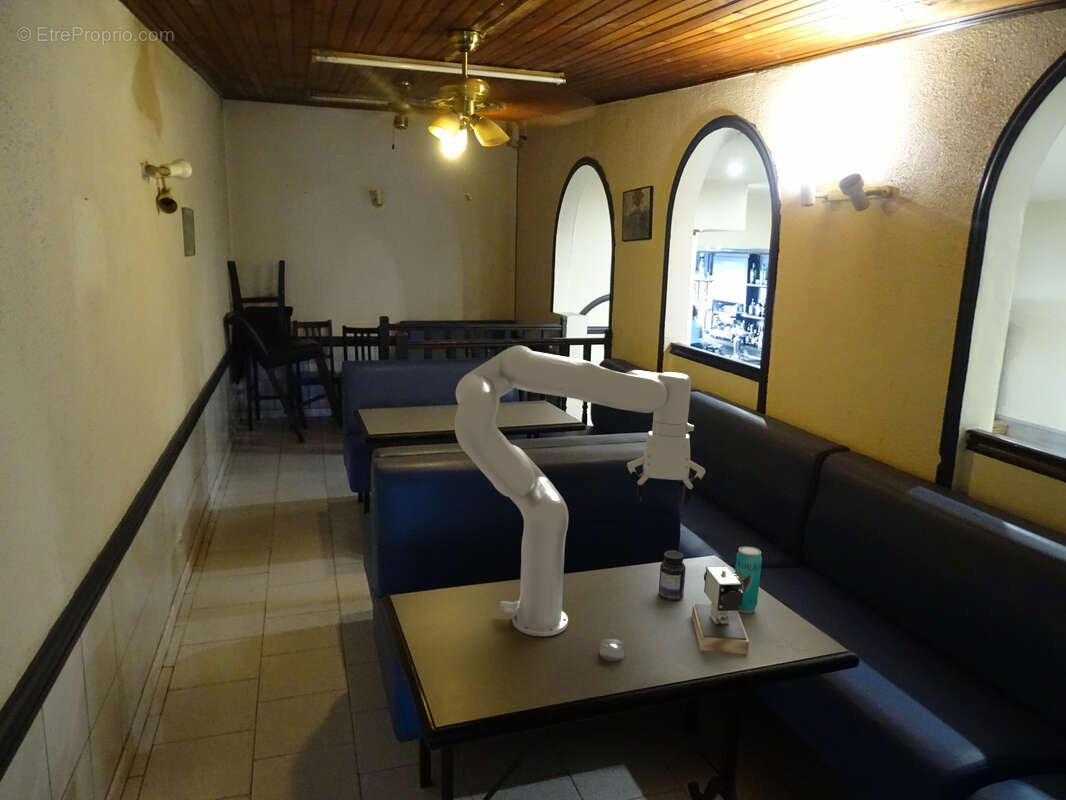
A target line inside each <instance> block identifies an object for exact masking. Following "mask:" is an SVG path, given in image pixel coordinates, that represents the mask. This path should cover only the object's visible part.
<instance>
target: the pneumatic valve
mask: <svg viewBox="0 0 1066 800" xmlns="http://www.w3.org/2000/svg"><path fill="white" fill-rule="evenodd" d="M738 580H739V577H737V575H736V574H735V573H732V571H731V570H730V569H729V567H727V566H720V565H719V566H706V567H705V573H704V574H703V581H704V586H703V587H704V588H703V590H704V591H703V592H704V594H705V595H706V596H707V597H708V599H709V600H710V602H711V603H710V604H709V605H710V606H711V613H710V617H711V619H712V620H713V622H714V623H715V624H718V623H721V624H729V622H730V621H729V613H730V612H731V611H738V612H739V606H742V603H743V592H742V590H741V586H742V584H741V583H740V582H739V581H738Z"/></svg>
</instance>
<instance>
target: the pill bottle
mask: <svg viewBox="0 0 1066 800" xmlns="http://www.w3.org/2000/svg"><path fill="white" fill-rule="evenodd" d="M663 554H664V555H663V561H661V562H660V566H659V582H658V595H659V597H660V598H661V599H663V600H666V601H669V600H670V601H671V602H677V601H680V600H682V599H683V597H684V593H685V582H686V581H685V578H686V565H685V563H683V561H684V554H683V553H682V552H680V551H678V550H667V551H665V552H664V553H663Z"/></svg>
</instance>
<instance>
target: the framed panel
mask: <svg viewBox="0 0 1066 800" xmlns="http://www.w3.org/2000/svg"><path fill="white" fill-rule="evenodd" d="M710 605H711V604H701V603H695V604H694V603H693V604H692V610H691V617H692V618H693V619H692V622H694V623H693V626H695V627H694V631H695V634H696V638H697V643H698V646H699V651H704V652H713V651H714V652H713V653H717V652H718V653H726V652H727V653H726V654H740V655H749V646H750V640H749V637H748V635H747V634H748V633H747V632H746V629H745V626H744V623H743V622H742V619H741V616H740V612H739V611H731V612H730V613H729V621H730V622H729V624H721V623H718V624H715V623H714V622H713V620H712V619H711V617H710V613H711V606H710Z"/></svg>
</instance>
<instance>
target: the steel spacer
mask: <svg viewBox="0 0 1066 800" xmlns="http://www.w3.org/2000/svg"><path fill="white" fill-rule="evenodd" d="M599 646H600V647H599V656H600V658H601V657H602V658H601V659H603V658H604V659H606V660H610V661H609V662H611V661H617V660H620V659H622V658H623V659H624V657H623V656H625V655H624V654H625V644H624V642H623V641H621V640H620V639H616V638H605V639H603V640H601V641H600V645H599ZM604 659H603V660H604ZM623 659H622V660H623ZM606 660H605V661H606ZM620 661H621V660H620ZM617 662H618V661H617Z"/></svg>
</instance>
